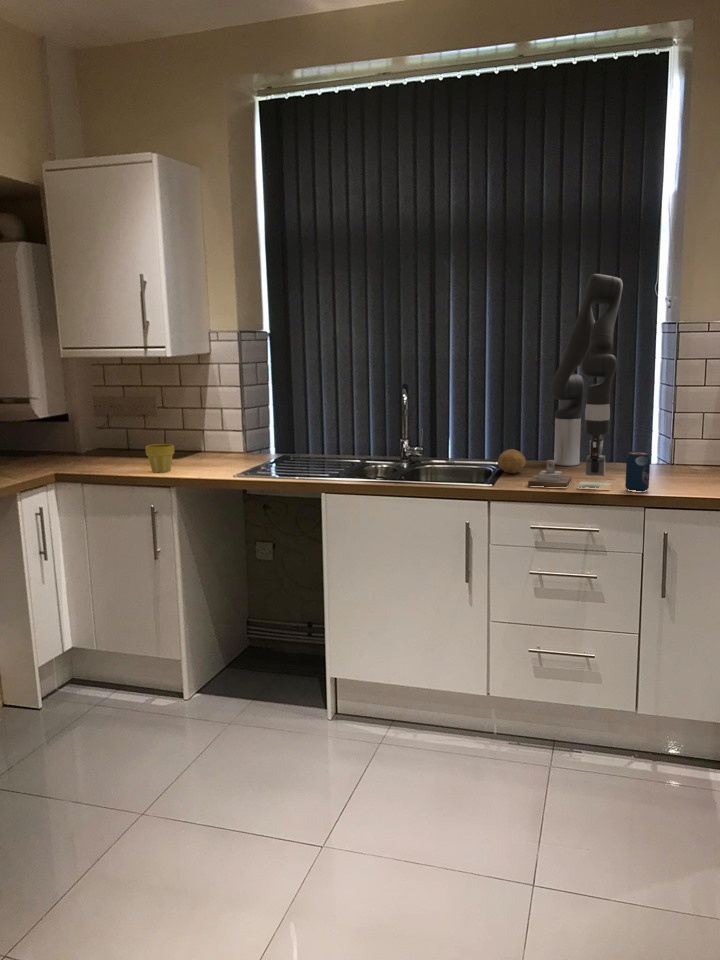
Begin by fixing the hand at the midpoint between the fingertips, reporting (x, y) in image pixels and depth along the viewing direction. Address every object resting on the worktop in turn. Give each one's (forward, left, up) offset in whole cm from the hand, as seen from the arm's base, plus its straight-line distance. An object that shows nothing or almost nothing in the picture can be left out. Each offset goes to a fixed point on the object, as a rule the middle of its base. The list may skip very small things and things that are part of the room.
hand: (595, 470), depth 258 cm
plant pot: (+14, -155, -6) cm, 156 cm away
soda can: (+2, +13, -6) cm, 14 cm away
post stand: (0, -14, -5) cm, 15 cm away
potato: (-18, -30, -6) cm, 36 cm away
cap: (0, 0, -1) cm, 1 cm away
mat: (0, 0, -5) cm, 5 cm away
